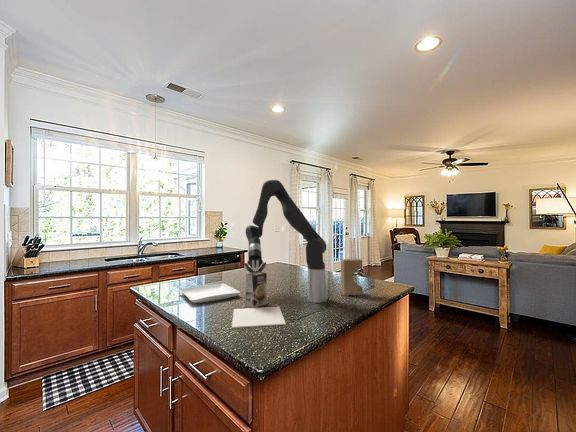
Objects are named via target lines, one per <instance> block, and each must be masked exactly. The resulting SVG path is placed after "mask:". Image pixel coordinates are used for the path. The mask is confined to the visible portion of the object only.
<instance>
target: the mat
mask: <svg viewBox="0 0 576 432" xmlns="http://www.w3.org/2000/svg"><path fill="white" fill-rule="evenodd" d="M232 313H233V314H232V322H231V329H242V328H257V327H272V326H286V324H287V323H286V320H285V317H284V316H283V313H282V309H281V307H280V306H266V307H265V306H264V307H256V308H251V307H247V308H246V307H245V308H234V309H233V312H232Z"/></svg>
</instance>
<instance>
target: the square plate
mask: <svg viewBox="0 0 576 432" xmlns="http://www.w3.org/2000/svg"><path fill="white" fill-rule="evenodd" d="M178 291H179V292H180V293H181V294H182V295H183V296H185V297H187V299H188V300H189V301H190V302H191V303H193V304H204V303H208V302H209V301H210V302H215V301H220V300H225V299H230V298H234V297H236V296H238V295H240V294H241V291H240V290H238V289H235V288H234V287H232V286H231V285H228V284H225V283H214V284H205V285H199V286H198V285H196V286H193V287H187V288H181V289H178ZM203 302H204V303H203ZM210 302H209V303H210Z"/></svg>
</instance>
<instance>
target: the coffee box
mask: <svg viewBox="0 0 576 432" xmlns="http://www.w3.org/2000/svg"><path fill="white" fill-rule="evenodd" d="M267 280H268V279H267V272H264V271H262V272H255V273H250V272H249V273H246V274H245V307H247V308H260V307H262V306H265V305H267V300H268V299H267V298H268V296H267V291H268V290H267V284H268V283H267Z"/></svg>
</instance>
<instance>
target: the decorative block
mask: <svg viewBox="0 0 576 432" xmlns="http://www.w3.org/2000/svg"><path fill="white" fill-rule="evenodd" d="M362 269H363V259H361V258H342V259H340V292H341V295H343V297H348V296H349V295H353V296H363V294H364V293H363V291H364V289H363V288H364V287H363V286H362V285H360V284H358V283H356V282H355V280H354V275H355V273H356V272H357V271H359V270H362Z"/></svg>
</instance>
